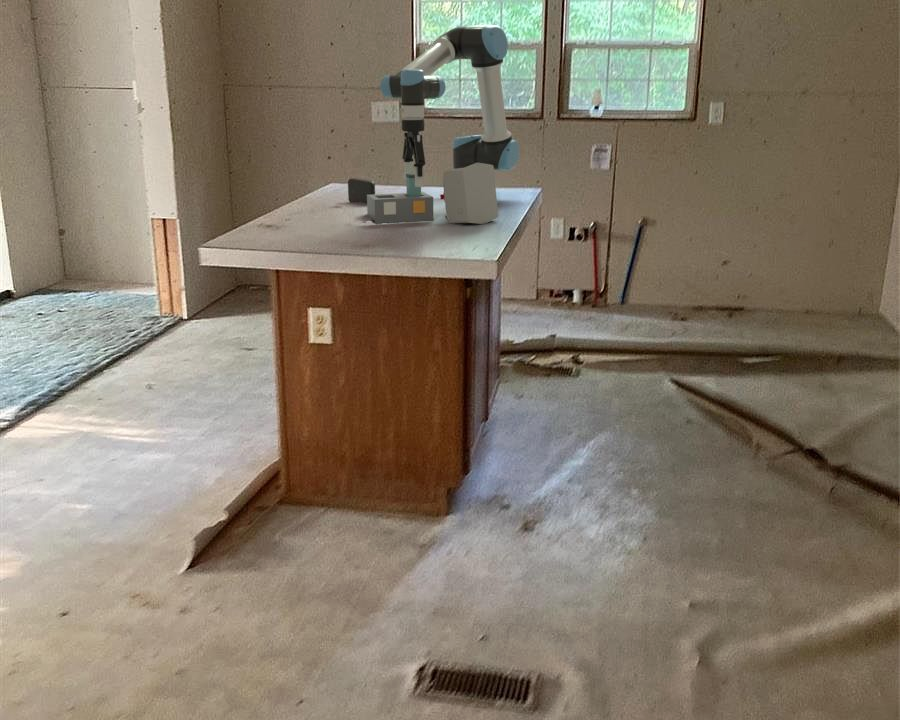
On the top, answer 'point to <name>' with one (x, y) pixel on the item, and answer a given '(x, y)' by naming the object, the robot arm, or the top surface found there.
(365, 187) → the dark grey curved block
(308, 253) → the top surface
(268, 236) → the top surface
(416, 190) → the plug
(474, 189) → the electrical switch box
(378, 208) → the junction block
